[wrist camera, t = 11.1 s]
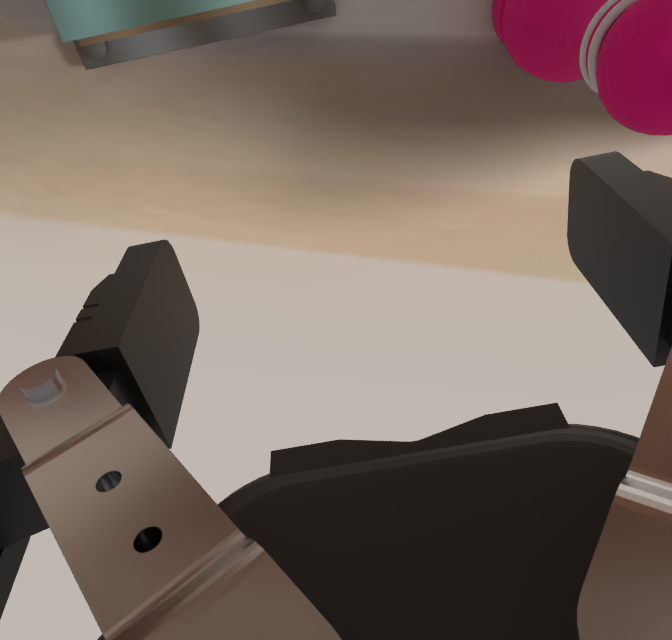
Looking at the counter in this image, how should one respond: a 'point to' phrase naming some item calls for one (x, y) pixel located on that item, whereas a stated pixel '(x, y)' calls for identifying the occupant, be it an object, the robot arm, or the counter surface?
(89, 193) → the counter surface
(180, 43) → the layered slab stack
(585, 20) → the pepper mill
